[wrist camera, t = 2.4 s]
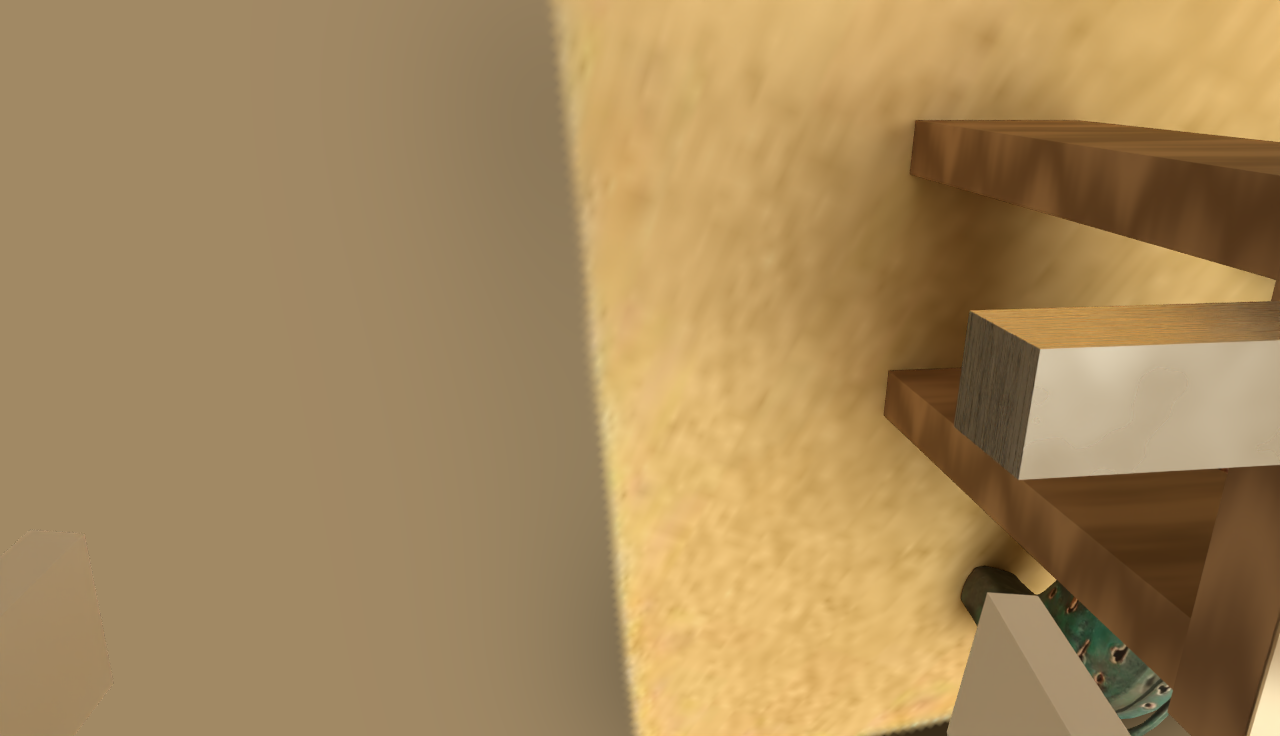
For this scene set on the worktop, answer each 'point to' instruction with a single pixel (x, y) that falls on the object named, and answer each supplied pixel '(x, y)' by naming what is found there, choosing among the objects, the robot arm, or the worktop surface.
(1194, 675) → the walnut shelf
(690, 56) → the worktop surface
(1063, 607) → the dark green curved figure
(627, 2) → the worktop surface
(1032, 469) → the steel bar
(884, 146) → the worktop surface
